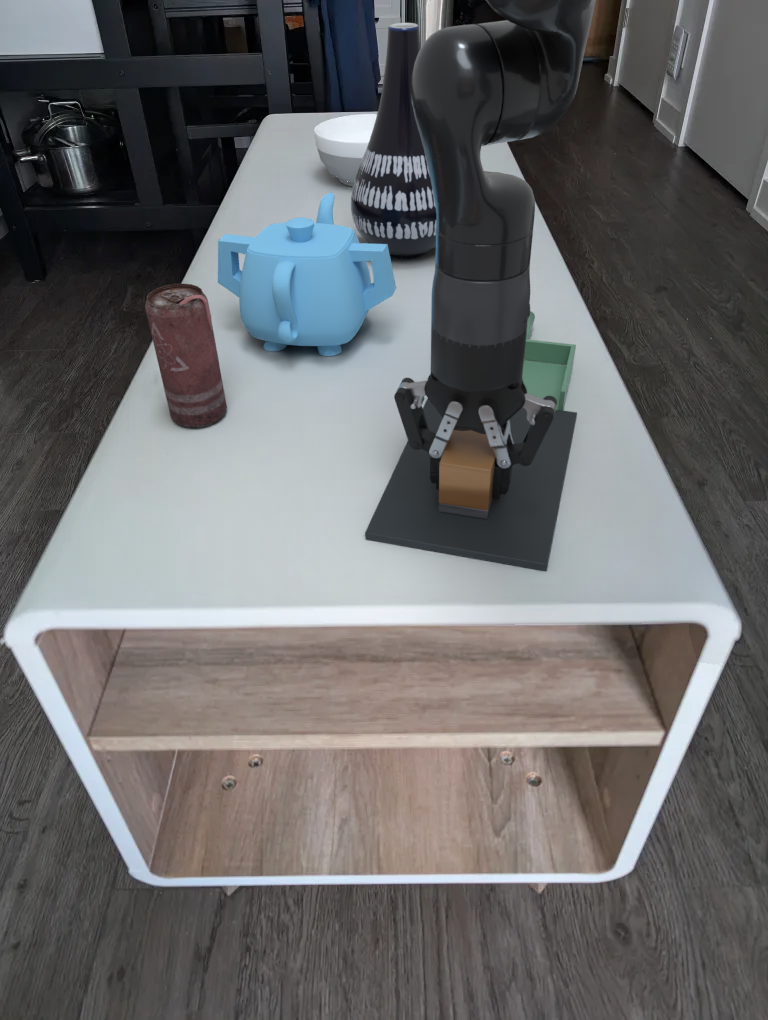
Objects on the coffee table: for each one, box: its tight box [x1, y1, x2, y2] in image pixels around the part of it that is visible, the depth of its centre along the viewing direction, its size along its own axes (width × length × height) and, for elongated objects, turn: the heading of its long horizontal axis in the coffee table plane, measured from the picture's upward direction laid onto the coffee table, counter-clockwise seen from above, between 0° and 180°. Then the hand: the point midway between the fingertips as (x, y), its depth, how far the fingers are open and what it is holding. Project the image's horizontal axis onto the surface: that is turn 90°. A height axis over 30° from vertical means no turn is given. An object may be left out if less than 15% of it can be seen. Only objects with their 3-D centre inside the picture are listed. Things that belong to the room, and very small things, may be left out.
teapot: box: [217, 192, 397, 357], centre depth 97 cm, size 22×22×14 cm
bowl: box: [313, 113, 377, 188], centre depth 144 cm, size 19×19×9 cm
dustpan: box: [522, 310, 577, 411], centre depth 93 cm, size 19×13×3 cm
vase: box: [350, 22, 436, 260], centre depth 111 cm, size 16×16×30 cm
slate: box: [364, 397, 578, 572], centre depth 77 cm, size 24×16×1 cm, turn 164°
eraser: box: [439, 430, 496, 519], centre depth 72 cm, size 6×4×6 cm
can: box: [144, 283, 228, 429], centre depth 82 cm, size 6×6×14 cm
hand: (469, 488), depth 73 cm, fingers closed on eraser, 4 cm apart
